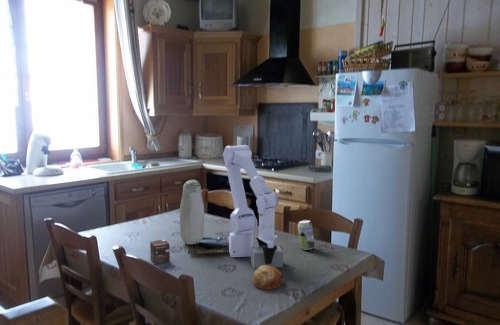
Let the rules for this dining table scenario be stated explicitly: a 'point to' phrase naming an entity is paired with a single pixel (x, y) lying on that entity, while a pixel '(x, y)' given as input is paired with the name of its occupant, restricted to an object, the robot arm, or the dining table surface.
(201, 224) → the white tall rounded cylinder
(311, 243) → the beverage can
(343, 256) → the dining table surface
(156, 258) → the box
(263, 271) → the bread roll
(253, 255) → the light grey cuboid
